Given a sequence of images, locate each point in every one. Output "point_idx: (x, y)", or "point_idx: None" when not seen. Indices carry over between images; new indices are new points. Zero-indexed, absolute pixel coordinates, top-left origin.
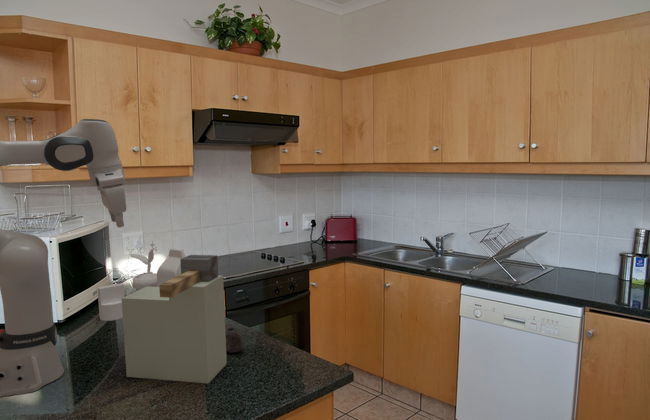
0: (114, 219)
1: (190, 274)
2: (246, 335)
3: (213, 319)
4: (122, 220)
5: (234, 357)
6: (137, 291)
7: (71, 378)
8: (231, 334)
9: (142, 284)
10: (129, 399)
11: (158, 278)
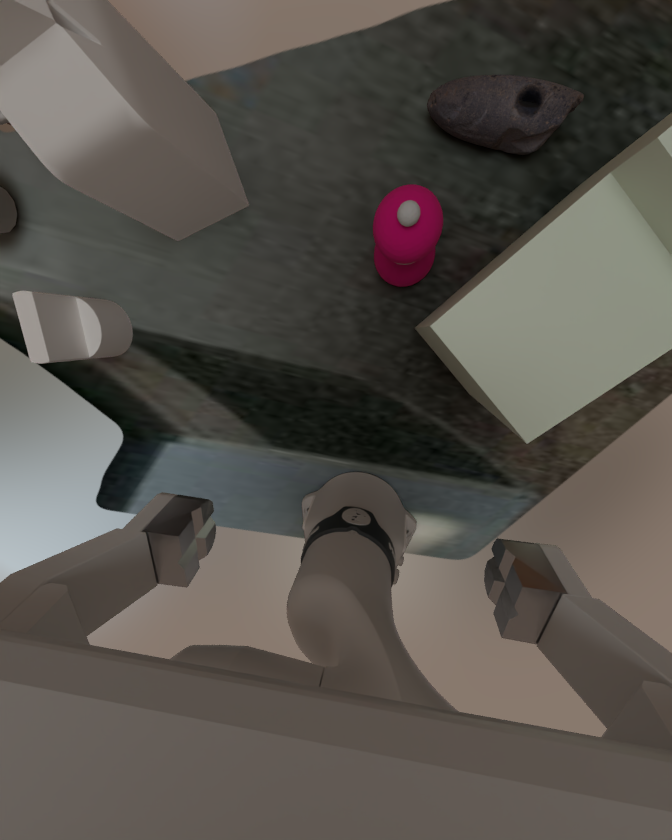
0: (201, 539)
1: None
2: (443, 46)
3: None
4: (588, 600)
5: (558, 149)
6: (478, 376)
7: (402, 469)
8: (566, 114)
9: None
10: None
11: (90, 189)
